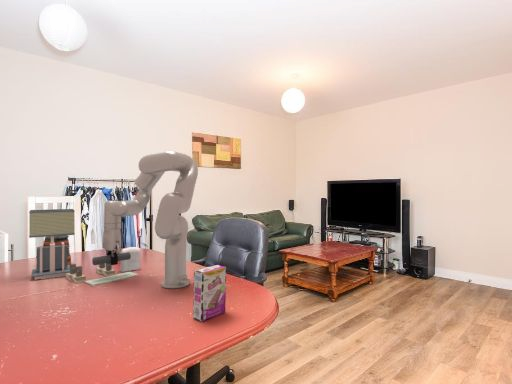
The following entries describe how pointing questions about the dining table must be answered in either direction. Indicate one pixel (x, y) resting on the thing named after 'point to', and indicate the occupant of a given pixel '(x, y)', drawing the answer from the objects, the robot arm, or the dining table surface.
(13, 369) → the dining table surface
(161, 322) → the dining table surface
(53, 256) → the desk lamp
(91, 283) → the mat
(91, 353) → the dining table surface
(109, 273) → the clamp board
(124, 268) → the photo printer
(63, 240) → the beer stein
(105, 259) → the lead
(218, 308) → the candy bar box
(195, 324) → the dining table surface
